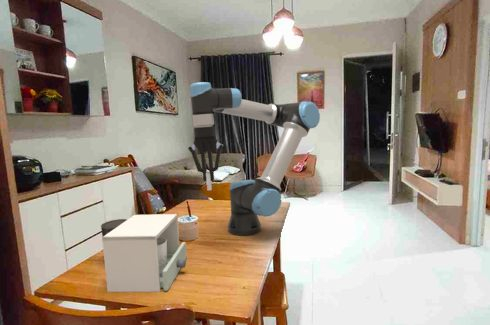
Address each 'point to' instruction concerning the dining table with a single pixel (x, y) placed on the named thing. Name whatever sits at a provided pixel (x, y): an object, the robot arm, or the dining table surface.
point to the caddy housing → (138, 252)
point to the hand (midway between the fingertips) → (209, 189)
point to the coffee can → (111, 226)
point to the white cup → (162, 253)
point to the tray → (173, 266)
